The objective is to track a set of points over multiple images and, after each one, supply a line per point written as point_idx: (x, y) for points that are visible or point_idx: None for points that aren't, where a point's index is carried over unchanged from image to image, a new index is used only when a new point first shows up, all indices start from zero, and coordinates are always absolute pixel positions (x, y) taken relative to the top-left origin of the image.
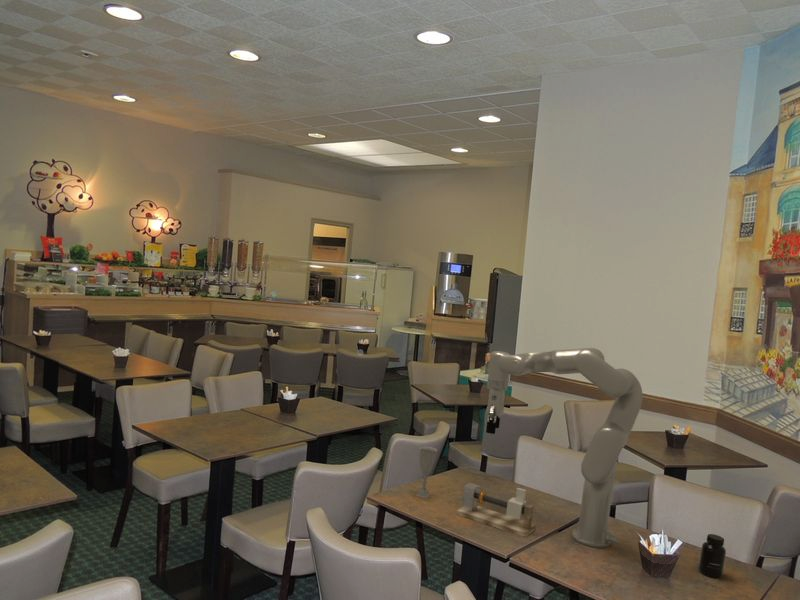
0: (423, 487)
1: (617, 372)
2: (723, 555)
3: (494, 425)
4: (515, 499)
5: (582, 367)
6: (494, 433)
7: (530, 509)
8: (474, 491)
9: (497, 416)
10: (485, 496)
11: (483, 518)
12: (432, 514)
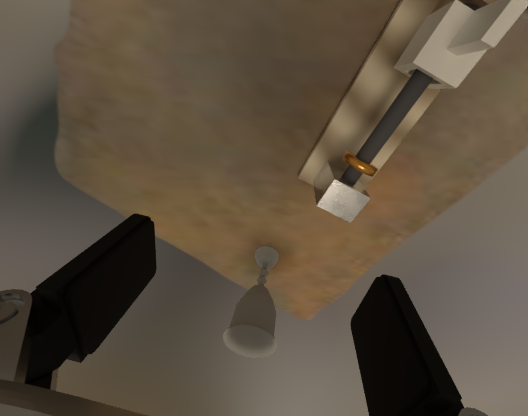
0: (267, 267)
1: None
2: None
3: (431, 367)
4: (461, 54)
5: None
6: (399, 280)
7: None
8: (363, 192)
9: (48, 332)
10: (372, 157)
11: (391, 148)
12: (360, 244)
